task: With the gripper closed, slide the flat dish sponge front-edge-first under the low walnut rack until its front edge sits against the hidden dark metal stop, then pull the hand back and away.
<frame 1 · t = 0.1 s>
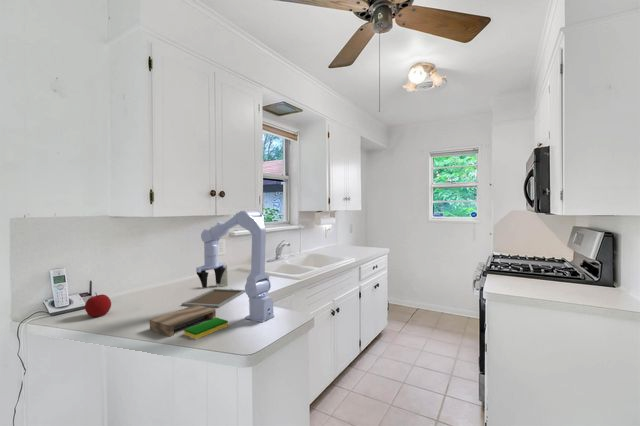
hand: (211, 285, 134), 10 cm above the worktop, tool pointing down, fingers open, 7 cm apart
low shelf: (184, 323, 114), on the worktop
dish sponge: (207, 331, 108), on the worktop
apple: (98, 315, 126), on the worktop
skincare box: (221, 286, 174), on the worktop
grey flat tray: (217, 299, 150), on the worktop
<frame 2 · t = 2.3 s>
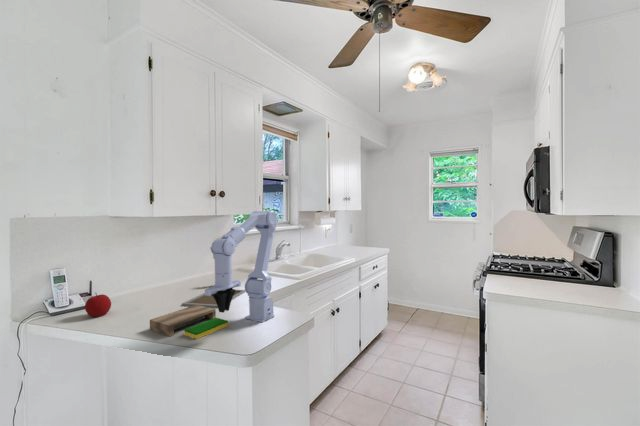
hand: (223, 311, 104), 8 cm above the worktop, tool pointing down, fingers closed
nothing on the worktop moved.
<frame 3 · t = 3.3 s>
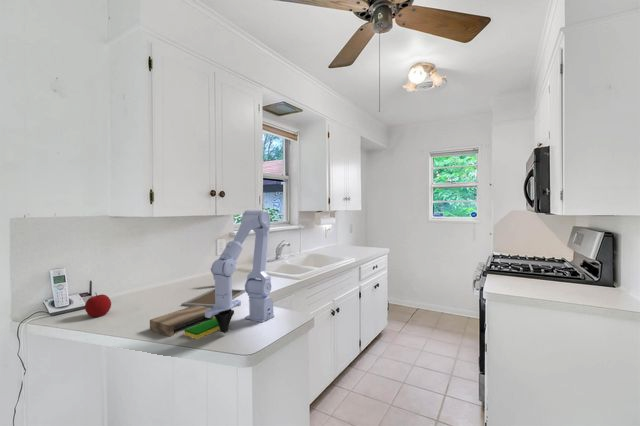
hand: (224, 331, 104), 1 cm above the worktop, tool pointing down, fingers closed
nothing on the worktop moved.
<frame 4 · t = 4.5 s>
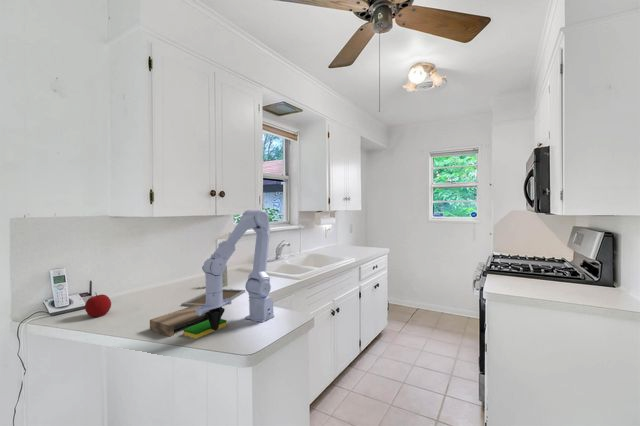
hand: (214, 329, 106), 1 cm above the worktop, tool pointing down, fingers closed
nothing on the worktop moved.
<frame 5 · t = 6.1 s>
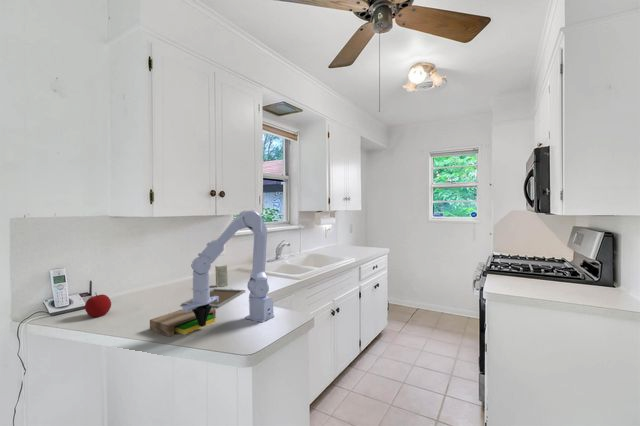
hand: (202, 325, 109), 1 cm above the worktop, tool pointing down, fingers closed, pressing on dish sponge
dish sponge: (194, 327, 112), on the worktop, touching gripper, low shelf
everything else where it was.
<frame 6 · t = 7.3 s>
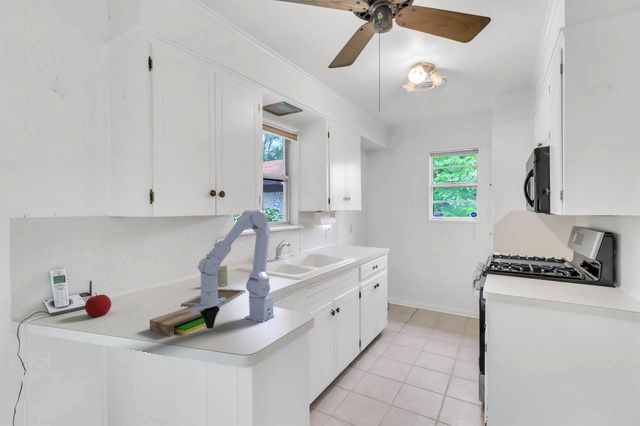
hand: (209, 327, 107), 1 cm above the worktop, tool pointing down, fingers closed
dish sponge: (194, 327, 112), on the worktop
everything else where it was.
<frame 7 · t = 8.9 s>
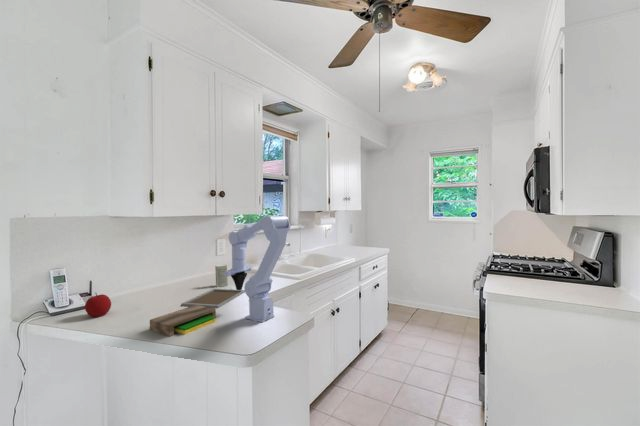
hand: (239, 289, 129), 9 cm above the worktop, tool pointing down, fingers closed
nothing on the worktop moved.
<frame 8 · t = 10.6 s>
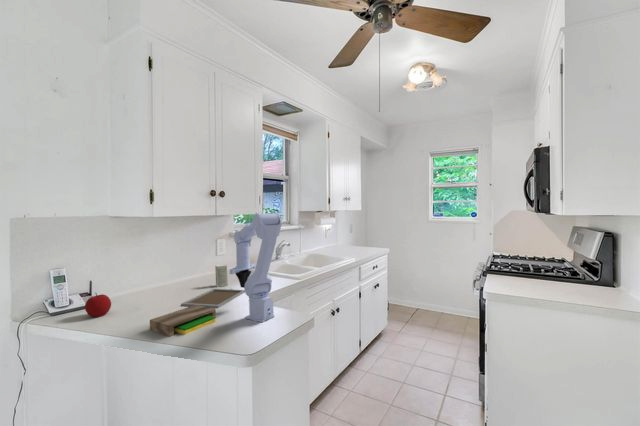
hand: (243, 287, 133), 9 cm above the worktop, tool pointing down, fingers closed
nothing on the worktop moved.
at the end: dish sponge 0.4 cm from the target spot on the low shelf, point -0.7 cm above the low shelf's base; dish sponge tilted 0° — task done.
